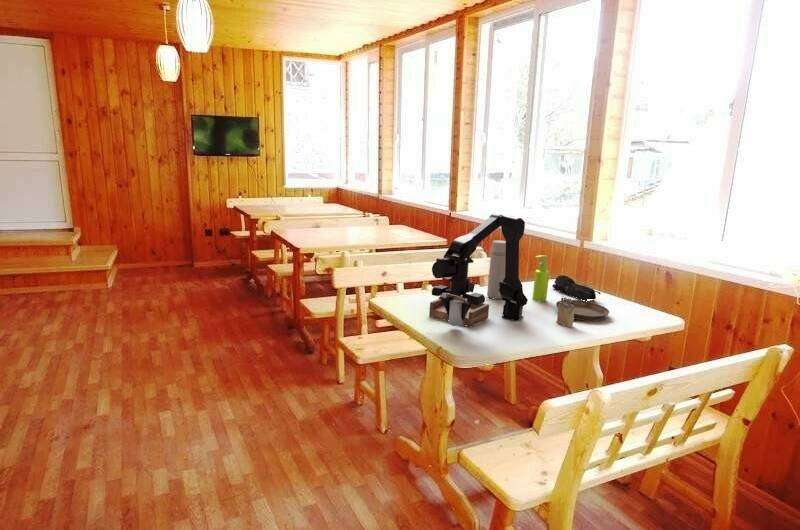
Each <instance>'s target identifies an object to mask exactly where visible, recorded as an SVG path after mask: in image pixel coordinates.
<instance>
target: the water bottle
mask: <svg viewBox="0 0 800 530" xmlns="http://www.w3.org/2000/svg"><path fill="white" fill-rule="evenodd" d="M505 258H506V240H501V239H500V240H498V239H497V240H492V243H491V248H490V257H489V259H490V260H489V269H488V279H487V281H488V283H487V292H486V295H487V298H489V297H490V298H489V299H491V298H494V299H493V300H502V297H501V295H500V292H499V288H500V286H499V283H500V282H502V281H503V280H504V278H505Z"/></svg>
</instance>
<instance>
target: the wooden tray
mask: <svg viewBox="0 0 800 530" xmlns="http://www.w3.org/2000/svg"><path fill="white" fill-rule="evenodd" d="M452 300H461V301H464V302H465V299H463V298H458V297H454V296H453V299H452ZM489 311H490V304H489V303H485V302H484V303H482V304H480V305H471V307H470V308H469V310H468V312H467V314H466V317H465V319H464V320H463V325H462V326H465V325H467V326H466V327H469V326H470V328H471V326H472V327H474V326H475V324H476V325H478V324H479V322H480V323H481V321H482V322H483V321H485V320H488V319H489V313H490V312H489ZM428 316H429V317H431V316H433V317H432V318H435V317H437V318H436V319H439V318H440V319H439V320H442V319H445V320H444V321H446V320H449V316H448V314H447V312H446V309H445V307H444V305H443V303H442V301H441V299H439V298H437V299H435V300H433V301H430V302H429V314H428ZM473 325H474V326H473Z"/></svg>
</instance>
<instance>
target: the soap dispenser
mask: <svg viewBox="0 0 800 530" xmlns="http://www.w3.org/2000/svg"><path fill="white" fill-rule="evenodd" d="M534 257H535V258H537V259H540V258H541V261H540V262H538V263H539V264H538V269H536V270H535V271H534V273H535V274H534V282H533V290H532V301H534V300H535V301H534V302H538V301H540V302H539V303H543V302H544V301H545V302H547V296H548V288H549V287H548V286H549V279H550V270H548V263H547V258H549V256H547V255H543V254H540V255H536V256H534ZM542 301H543V302H542Z"/></svg>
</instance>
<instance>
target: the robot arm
mask: <svg viewBox="0 0 800 530" xmlns="http://www.w3.org/2000/svg"><path fill="white" fill-rule="evenodd" d="M525 226H526V222H525V220H524V219H523V218H522V217H521V218H520V217H516V216H511V215H506V216H505V215H503V214H499V213H492V214H491V215H489V217H488V218H486V219H485V220H484V221H483V222H481V224H479V225H478V226H476V228H474V229H473V230H472V231H470V232H469V233H467V234H463V235H461V236H459V237H456V238H454V240H452V241H451V242H450V245H449V247H448V248H447V251H446V252H445V254H444V255H443V257H442V258H440V257H437V258H436V261H435V262H434V263H432V267H431V272H432V276H433V277H434V278H435V279H442V278H446V277H451V278H449V281H450V282H451V285H450V289H449V287H447V286H443V284H439V285H436V286H434V287H433V288H431V296H434V297H438V299H441V301H442V303H443V305H444V307H445V309H446V312H447V314H448V316H449V309H450V301H451V300H452V299H453V296H454V297H458V298H463V299H465V302H463V303H462V314H461V316H462V320H464V319H465V317H466V314H467V312H468V310H469V308H470V307H471V305H480V304H482V303H485V302H486V297H485V294H484V293H480V292H479V293H478V292H474V290H475V286H476V284H475V283H472V282H470V278H469V277H468V275H469V273H468V272H469V264H473V263H474V260H473V259H472V257H471V256H472V255H473V254H474V252H475V251H477V247H478V245H479V244H480V243H481V242H483V241H484V240H485V239H486V238H488V237H489V236H490V235H491V234H492V233H494V232H495V231H496V230H497V229H499V228H501V229H500V230H501V234H502V236H503V239H504V241H506V258H505V278H504V280H503V281H502V282H500V283H499V286H500V288H499V292H500V295H501V297H502V298H501V301H503V302H504V304H503V307H502V316H501V318H502V319H506V320H510V321H514V322H518V321H520V320H522V319H523V318H524V316H523V308H524V306H526V305H527V303H528V301H529V300H528V298H527V297H526V295H525V294H524V290H523V284H522V282H521V280H520V278H519V275H520V274H519V273H520V271H519V268H520V265H519V264H520V240H521V239H522V238H523V236H524V234H525V228H526V227H525ZM468 293H471V294H468Z"/></svg>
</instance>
